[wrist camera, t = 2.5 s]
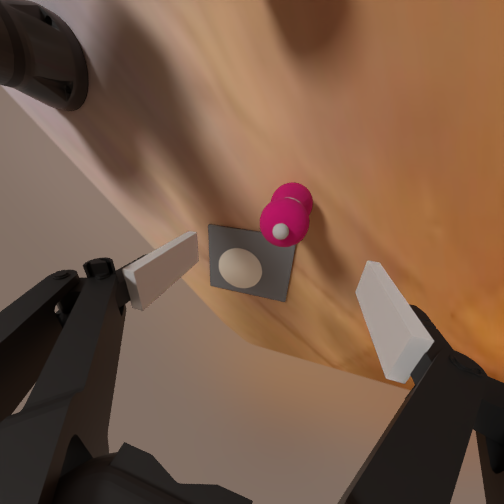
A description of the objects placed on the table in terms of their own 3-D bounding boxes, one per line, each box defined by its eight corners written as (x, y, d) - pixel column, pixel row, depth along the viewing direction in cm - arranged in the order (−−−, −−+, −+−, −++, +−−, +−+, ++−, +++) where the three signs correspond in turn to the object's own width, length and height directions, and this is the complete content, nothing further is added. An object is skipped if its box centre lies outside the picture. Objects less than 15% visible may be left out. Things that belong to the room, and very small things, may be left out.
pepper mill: (319, 191, 36) (331, 220, 18) (299, 224, 39) (293, 275, 22) (285, 173, 36) (263, 185, 18) (268, 208, 39) (236, 245, 22)
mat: (211, 284, 52) (210, 286, 51) (209, 224, 44) (207, 225, 44) (285, 300, 48) (285, 302, 47) (296, 237, 40) (296, 238, 40)
